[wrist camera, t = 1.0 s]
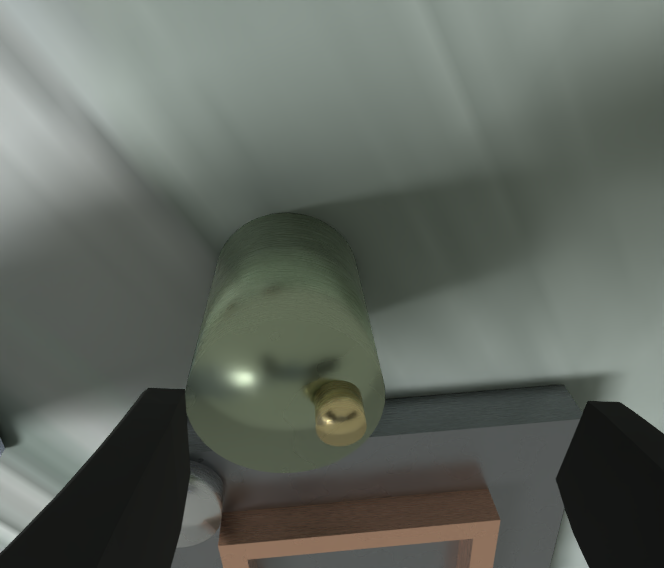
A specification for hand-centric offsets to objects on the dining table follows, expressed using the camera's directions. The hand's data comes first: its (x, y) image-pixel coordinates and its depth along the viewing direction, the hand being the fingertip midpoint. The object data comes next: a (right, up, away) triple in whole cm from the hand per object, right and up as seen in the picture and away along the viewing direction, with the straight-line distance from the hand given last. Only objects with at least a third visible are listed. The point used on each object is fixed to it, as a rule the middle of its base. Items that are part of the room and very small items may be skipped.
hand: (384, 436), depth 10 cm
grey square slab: (0, -10, +17) cm, 20 cm away
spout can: (-3, +3, +9) cm, 10 cm away
